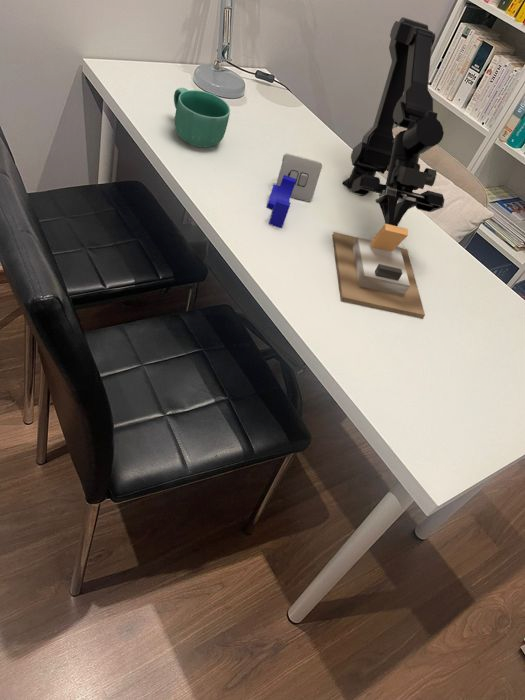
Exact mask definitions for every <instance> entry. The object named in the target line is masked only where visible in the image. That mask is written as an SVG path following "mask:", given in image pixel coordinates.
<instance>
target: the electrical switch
mask: <svg viewBox="0 0 525 700" xmlns="http://www.w3.org/2000/svg"><path fill="white" fill-rule="evenodd" d="M322 168H323V164H322V162H320V161H317V160H314V159H310V158H306V157H302V156H299V155H294V154H291V153H287V152H286V153H284V154H283V155H282V160H281V167H280V168H279V169H280V170H279V173H278V176H277V179H276V184H275V185H278V186H280V185H281V182H282V179H283V176H284V175H286V176H289V177H292V178H295V179H296V182H295V185H294V188H293V191H292V194H291V197H290V198H294V199H298V200H302V201H305V202H311V201H313V197H314V195H315V191H316V188H317V185H318V182H319V177H320V176H321V172H322Z"/></svg>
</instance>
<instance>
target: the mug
mask: <svg viewBox="0 0 525 700" xmlns="http://www.w3.org/2000/svg"><path fill="white" fill-rule="evenodd" d="M173 103H174V104H173V105H174V107H175V113H174V114H175V115H174V129H175V131H176V133H177V135H178V136H179V137H180V139H182V140H183V141H185V143H187V144H189V145H191V146H193V147H197V148H209V147H214V146H216V145H218V144H220V142H221V141H222V140H223V139H224V136H225V135H226V132H227V127H228V124H229V119H230V115H231V109H230V106H229V104H228V102H226V101H225V100H224V99H223V98H221V97H219V96H218V95H216V94H213V93H210V92H208V91H207V92H206V91H203V90H197V89H196V90H195V89H190V90H188V89H187V88H185V87H179V88H177V89H176V90H175V91H174V93H173Z"/></svg>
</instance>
